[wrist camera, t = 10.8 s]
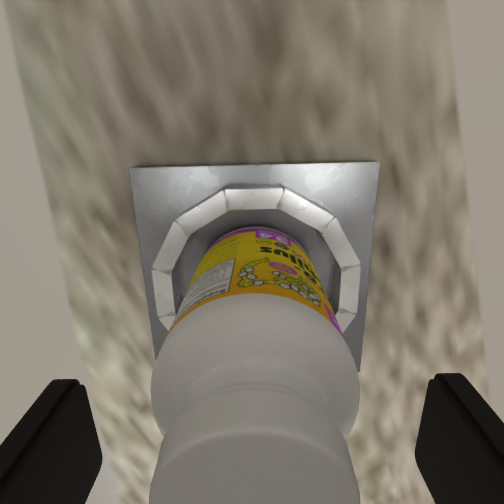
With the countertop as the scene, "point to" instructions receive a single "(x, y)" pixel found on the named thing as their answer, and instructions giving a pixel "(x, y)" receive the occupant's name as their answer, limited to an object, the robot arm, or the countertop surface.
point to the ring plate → (257, 214)
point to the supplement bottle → (255, 382)
